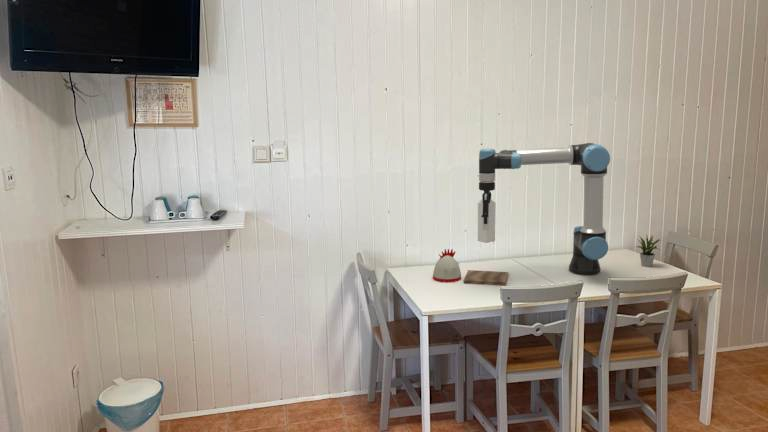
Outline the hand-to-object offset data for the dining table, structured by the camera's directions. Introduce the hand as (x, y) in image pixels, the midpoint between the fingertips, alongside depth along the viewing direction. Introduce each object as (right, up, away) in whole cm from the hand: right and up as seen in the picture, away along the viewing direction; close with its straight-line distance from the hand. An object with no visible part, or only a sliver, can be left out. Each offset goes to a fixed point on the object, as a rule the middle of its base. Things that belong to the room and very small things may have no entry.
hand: (486, 228), depth 299 cm
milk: (0, -6, +1) cm, 7 cm away
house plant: (+86, -20, +20) cm, 91 cm away
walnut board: (+1, -25, +5) cm, 25 cm away
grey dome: (-18, -25, +8) cm, 32 cm away
